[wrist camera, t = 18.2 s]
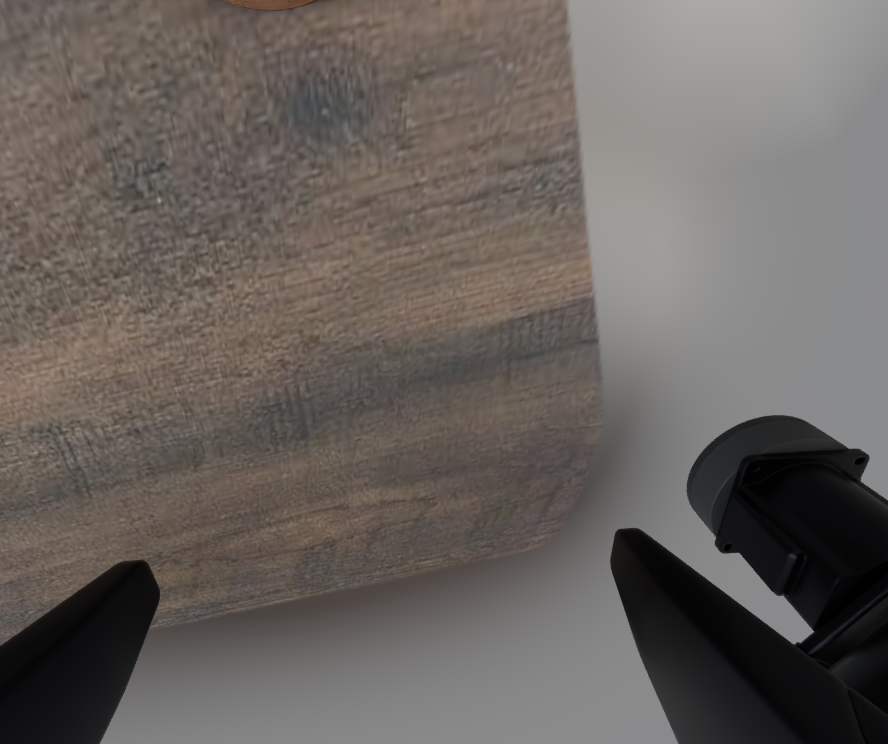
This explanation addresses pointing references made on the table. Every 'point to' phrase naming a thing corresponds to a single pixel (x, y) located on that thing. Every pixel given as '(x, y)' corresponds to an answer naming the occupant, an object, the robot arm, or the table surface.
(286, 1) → the terracotta bowl
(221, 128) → the table surface
